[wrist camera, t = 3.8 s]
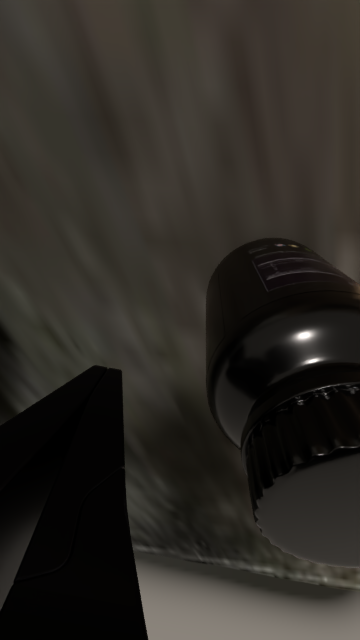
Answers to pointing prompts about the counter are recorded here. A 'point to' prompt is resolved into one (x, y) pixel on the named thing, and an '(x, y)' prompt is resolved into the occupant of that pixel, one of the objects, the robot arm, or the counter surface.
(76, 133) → the counter surface
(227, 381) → the supplement bottle
